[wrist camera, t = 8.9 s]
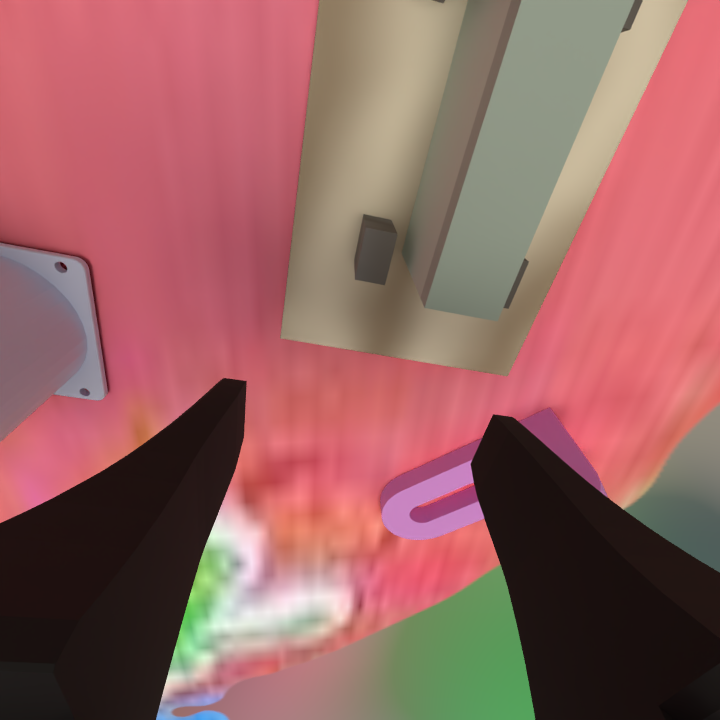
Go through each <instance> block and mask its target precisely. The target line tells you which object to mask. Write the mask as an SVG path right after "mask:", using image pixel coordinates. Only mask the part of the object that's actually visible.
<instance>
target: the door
mask: <svg viewBox="0 0 720 720" xmlns="http://www.w3.org/2000/svg"><path fill="white" fill-rule="evenodd" d="M634 1H635V0H468V2H467V6H466V10H465V13H464V17H463V21H462V25H461V29H460V32H459V36H458V40H457V44H456V48H455V51H454V55H453V59H452V63H451V67H450V71H449V74H448V78H447V82H446V86H445V90H444V93H443V97H442V101H441V105H440V109H439V112H438V116H437V120H436V124H435V128H434V131H433V135H432V139H431V143H430V147H429V151H428V154H427V158H426V162H425V166H424V170H423V173H422V177H421V181H420V185H419V189H418V192H417V196H416V200H415V204H414V208H413V211H412V215H411V219H410V223H409V227H408V230H407V234H406V238H405V242H404V246H403V250H402V255H403V258H404V260H405V263H406V265H407V267H408V270H409V272H410V274H411V277H412V279H413V282H414V284H415V286H416V289H417V291H418V294H419V296H420V298H421V301H422V303H423V306H424V308H428V309H433V310H438V311H444V312H449V313H455V314H460V315H465V316H471V317H476V318H481V319H487V320H492V321H498V319H499V317H500V314H501V312H502V310H503V307H504V305H505V303H506V300H507V298H508V295H509V293H510V291H511V288H512V286H513V284H514V281H515V279H516V277H517V274H518V272H519V270H520V267H521V265H522V263H523V260H524V258H525V256H526V253H527V251H528V249H529V246H530V244H531V242H532V239H533V237H534V235H535V232H536V230H537V228H538V225H539V223H540V221H541V218H542V216H543V214H544V211H545V209H546V207H547V204H548V202H549V200H550V197H551V195H552V193H553V190H554V188H555V185H556V183H557V181H558V178H559V176H560V174H561V171H562V169H563V167H564V164H565V162H566V160H567V157H568V155H569V153H570V150H571V148H572V146H573V143H574V141H575V139H576V136H577V134H578V132H579V129H580V127H581V125H582V122H583V120H584V118H585V115H586V113H587V111H588V108H589V106H590V104H591V101H592V99H593V97H594V94H595V92H596V90H597V87H598V85H599V83H600V80H601V78H602V75H603V73H604V71H605V68H606V66H607V64H608V61H609V59H610V57H611V54H612V52H613V50H614V47H615V45H616V43H617V40H618V38H619V36H620V33H621V31H622V29H623V26H624V24H625V22H626V19H627V17H628V15H629V12H630V10H631V8H632V5H633V3H634Z"/></svg>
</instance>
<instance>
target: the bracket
mask: <svg viewBox="0 0 720 720" xmlns="http://www.w3.org/2000/svg"><path fill="white" fill-rule="evenodd" d="M519 422H520V423H521V424H522V425H523V426H524V427H526V428H527V429H528V430H529V431H530V432H531V433H533V434H534V435H535V436H536V437H537V438H538V439H539V440H541V441H542V442H543V443H544V444H545V445H546V446H547V447H548V448H550V449H551V450H552V451H553V452H554V453H555V454H556V455H557V456H559V457H560V458H561V459H562V460H563V461H564V462H565V463H566V464H568V465H569V466H570V467H571V468H572V469H573V470H575V471H576V472H577V473H578V474H579V475H580V476H582V477H583V478H584V479H585V480H586V481H588V482H589V483H590V484H591V485H593V486H594V487H595V488H596V489H597V490H599V491H600V492H601V493H602V494H604V495H605V496H606V497H607V494H606V492H605V489H604V487H603V485H602V483H601V481H600V479H599V476H598V474H597V473H596V471H595V469H594V468H593V467H592V465H591V464H590V463H589V461H588V460H587V458H586V457H585V456H584V454H583V453H582V451H581V450H580V449H579V447H578V446H577V444H576V443H575V442H574V440H573V439H572V437H571V436H570V435H569V433H568V432H567V430H566V429H565V428H564V426H563V425H562V423H561V422H560V421H559V419H558V418H557V417H556V415H555V414H554V412H553V411H552V410H551V408H550V407H549V408H547V409H545V410H543V411H541V412H539V413H536V414H534V415H532V416H530V417H528V418H525V419H523V420H521V421H519ZM481 440H482V438H481V439H479V440H477V441H475V442H473V443H470V444H468V445H466V446H464V447H462V448H459V449H457V450H455V451H453V452H451V453H448V454H446V455H444V456H442V457H440V458H437V459H435V460H433V461H431V462H429V463H426V464H424V465H422V466H420V467H418V468H415V469H413V470H411V471H409V472H407V473H404V474H402V475H400V476H398V477H396V478H395V479H393V480H392V481H391V482H389V483H388V484H387V485H386V487H385V488H384V489H383V491H382V494H381V498H380V503H381V514H382V521H383V523H384V525H385V527H386V528H387V529H388V530H389V531H390V532H392V533H393V534H395V535H397V536H400V537H402V538H406V539H413V540H424V539H431V538H435V537H439V536H442V535H444V534H447V533H449V532H452V531H454V530H457V529H459V528H462V527H464V526H467V525H469V524H472V523H474V522H477V521H479V520H482V519H484V516H483V513H482V510H481V507H480V504H479V501H478V498H477V494H476V490H475V486H472V487H470V488H467V489H465V490H463V491H460V492H458V493H456V494H453V495H451V496H449V497H446V498H444V499H441V500H439V501H437V502H434V503H432V504H430V505H427V506H425V507H416V506H419V505H421V504H423V503H426V502H428V501H431V500H433V499H435V498H438V497H440V496H442V495H445V494H447V493H449V492H452V491H454V490H456V489H459V488H461V487H463V486H466V485H468V484H471V483H474V481H473V475H472V470H471V461H472V459H473V457H474V455H475V453H476V451H477V448H478V446H479V444H480V442H481ZM607 498H608V497H607Z"/></svg>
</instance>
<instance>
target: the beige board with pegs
mask: <svg viewBox="0 0 720 720" xmlns="http://www.w3.org/2000/svg"><path fill="white" fill-rule="evenodd" d="M687 1H688V0H635V1H634V3H633V5H632V8H631V10H630V12H629V15H628V17H627V19H626V22H625V24H624V26H623V29H622V31H621V33H620V36H619V38H618V40H617V43H616V45H615V47H614V50H613V52H612V54H611V57H610V59H609V61H608V64H607V66H606V68H605V71H604V73H603V75H602V78H601V80H600V83H599V85H598V87H597V90H596V92H595V94H594V97H593V99H592V101H591V104H590V106H589V108H588V111H587V113H586V115H585V118H584V120H583V122H582V125H581V127H580V129H579V132H578V134H577V136H576V139H575V141H574V143H573V146H572V148H571V150H570V153H569V155H568V157H567V160H566V162H565V164H564V167H563V169H562V171H561V174H560V176H559V178H558V181H557V183H556V185H555V188H554V190H553V193H552V195H551V197H550V200H549V202H548V204H547V207H546V209H545V211H544V214H543V216H542V218H541V221H540V223H539V225H538V228H537V230H536V232H535V235H534V237H533V239H532V242H531V244H530V246H529V249H528V251H527V253H526V256H525V258H524V260H523V263H522V265H521V267H520V270H519V272H518V274H517V277H516V279H515V281H514V284H513V286H512V288H511V291H510V293H509V295H508V298H507V300H506V303H505V305H504V307H503V310H502V312H501V314H500V317H499V319H498V321H492V320H487V319H481V318H476V317H471V316H465V315H460V314H455V313H449V312H444V311H438V310H433V309H428V308H424V306H423V303H422V301H421V298H420V296H419V294H418V291H417V289H416V286H415V284H414V282H413V279H412V277H411V274H410V272H409V270H408V267H407V265H406V263H405V260H404V258H403V255H402V250H403V246H404V242H405V238H406V234H407V230H408V227H409V223H410V219H411V215H412V211H413V208H414V204H415V200H416V196H417V192H418V189H419V185H420V181H421V177H422V173H423V170H424V166H425V162H426V158H427V154H428V151H429V147H430V143H431V139H432V135H433V131H434V128H435V124H436V120H437V116H438V112H439V109H440V105H441V101H442V97H443V93H444V90H445V86H446V82H447V78H448V74H449V71H450V67H451V63H452V59H453V55H454V51H455V48H456V44H457V40H458V36H459V32H460V29H461V25H462V21H463V17H464V13H465V10H466V6H467V2H468V0H319V8H318V16H317V25H316V34H315V42H314V51H313V60H312V68H311V77H310V86H309V94H308V103H307V112H306V120H305V129H304V138H303V146H302V155H301V163H300V172H299V181H298V189H297V198H296V207H295V215H294V224H293V233H292V241H291V250H290V259H289V267H288V276H287V285H286V293H285V302H284V310H283V319H282V328H281V336H280V338H282V339H288V340H294V341H300V342H306V343H312V344H318V345H324V346H330V347H336V348H342V349H348V350H354V351H360V352H366V353H372V354H378V355H384V356H389V357H395V358H401V359H407V360H413V361H419V362H425V363H431V364H437V365H443V366H449V367H455V368H461V369H467V370H473V371H479V372H485V373H491V374H497V375H503V376H508V374H509V372H510V370H511V368H512V366H513V364H514V362H515V360H516V358H517V355H518V353H519V351H520V349H521V347H522V345H523V343H524V341H525V339H526V337H527V335H528V333H529V330H530V328H531V326H532V324H533V322H534V320H535V318H536V316H537V314H538V312H539V310H540V308H541V305H542V303H543V301H544V299H545V297H546V295H547V293H548V291H549V289H550V287H551V285H552V283H553V280H554V278H555V276H556V274H557V272H558V270H559V268H560V266H561V264H562V262H563V260H564V258H565V255H566V253H567V251H568V249H569V247H570V245H571V243H572V241H573V239H574V237H575V235H576V233H577V230H578V228H579V226H580V224H581V222H582V220H583V218H584V216H585V214H586V212H587V210H588V208H589V205H590V203H591V201H592V199H593V197H594V195H595V193H596V191H597V189H598V187H599V185H600V183H601V180H602V178H603V176H604V174H605V172H606V170H607V168H608V166H609V164H610V162H611V160H612V158H613V155H614V153H615V151H616V149H617V147H618V145H619V143H620V141H621V139H622V137H623V135H624V133H625V130H626V128H627V126H628V124H629V122H630V120H631V118H632V116H633V114H634V112H635V110H636V108H637V105H638V103H639V101H640V99H641V97H642V95H643V93H644V91H645V89H646V87H647V85H648V83H649V80H650V78H651V76H652V74H653V72H654V70H655V68H656V66H657V64H658V62H659V60H660V58H661V55H662V53H663V51H664V49H665V47H666V45H667V43H668V41H669V39H670V37H671V35H672V33H673V30H674V28H675V26H676V24H677V22H678V20H679V18H680V16H681V14H682V12H683V10H684V8H685V5H686V3H687Z"/></svg>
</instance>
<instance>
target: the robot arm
mask: <svg viewBox="0 0 720 720" xmlns="http://www.w3.org/2000/svg"><path fill="white" fill-rule="evenodd" d="M60 262H62V263H64V264H65V265H66V267H67V270H65V269H64V268H62V267H61V264H60ZM246 382H247V381H241V380H234V379H226V378H223V379H222V380H220V381H219V382H218V383H217V384H216V385H215V386H214V387H213V388H212V389H210V390H209V391H208V392H207V393H206V394H205V395H204V396H203V397H202V398H201V399H199V400H198V401H197V402H196V403H195V404H194V405H193V406H191V407H190V408H189V409H188V410H187V411H185V412H184V413H183V414H182V415H181V416H179V417H178V418H177V419H176V420H175V421H173V422H172V423H171V424H170V425H168V426H167V427H166V428H164V429H163V430H162V431H160V432H159V433H158V434H156V435H155V436H154V437H152V438H151V439H150V440H148V441H147V442H146V443H144V444H143V445H141V446H140V447H139V448H137V449H136V450H134V451H133V452H131V453H130V454H128V455H127V456H125V457H124V458H122V459H121V460H119V461H118V462H116V463H114V464H113V465H111V466H110V467H108V468H106V469H105V470H103V471H101V472H100V473H98V474H96V475H95V476H93V477H91V478H89V479H87V480H86V481H84V482H82V483H80V484H78V485H76V486H75V487H73V488H71V489H69V490H67V491H65V492H63V493H62V494H60V495H58V496H56V497H54V498H52V499H50V500H48V501H46V502H44V503H42V504H40V505H38V506H36V507H34V508H32V509H30V510H28V511H26V512H24V513H22V514H20V515H17V516H15V517H13V518H11V519H9V520H6V521H4V522H2V523H0V720H156V717H157V713H158V709H159V705H160V701H161V698H162V694H163V690H164V686H165V683H166V679H167V675H168V672H169V668H170V664H171V660H172V657H173V653H174V649H175V646H176V642H177V639H178V635H179V631H180V628H181V624H182V621H183V617H184V614H185V610H186V607H187V603H188V600H189V596H190V593H191V589H192V586H193V582H194V579H195V576H196V572H197V569H198V565H199V562H200V559H201V556H202V553H203V551H204V548H205V545H206V542H207V540H208V537H209V535H210V532H211V530H212V527H213V525H214V522H215V520H216V517H217V515H218V512H219V510H220V507H221V505H222V502H223V500H224V497H225V495H226V492H227V489H228V487H229V484H230V482H231V479H232V477H233V474H234V471H235V469H236V465H237V461H238V458H239V454H240V450H241V446H242V442H243V438H244V423H245V402H246ZM84 388H85V389H87V390H88V391H89V392H88V391H86V390H85V389H84ZM107 393H108V390H107V383H106V376H105V370H104V363H103V357H102V350H101V344H100V337H99V331H98V324H97V317H96V311H95V304H94V298H93V291H92V285H91V278H90V272H89V267H88V265H87V264H86V262H85V261H84V260H82V259H81V258H79V257H76V256H70V255H65V254H59V253H54V252H48V251H43V250H37V249H32V248H26V247H21V246H15V245H10V244H4V243H0V442H1V441H2V440H3V439H4V438H6V437H7V436H8V435H9V434H10V433H11V432H12V431H13V430H14V429H15V428H17V427H18V426H19V425H20V424H21V423H22V422H23V421H24V420H25V419H26V418H28V417H29V416H30V415H31V414H32V413H33V412H34V411H35V410H36V409H37V408H39V407H40V406H41V405H42V404H43V403H44V402H45V401H46V400H47V399H48V398H50V397H51V396H52V395H53V394H54V395H61V396H68V397H75V398H83V399H90V400H102V399H103V398H104V397H105V396H106V395H107ZM471 470H472V475H473V481H474V485H475V490H476V494H477V498H478V501H479V504H480V507H481V510H482V513H483V516H484V519H485V521H486V524H487V527H488V530H489V533H490V536H491V538H492V541H493V544H494V547H495V550H496V553H497V555H498V558H499V561H500V564H501V567H502V570H503V573H504V576H505V579H506V582H507V586H508V589H509V594H510V598H511V602H512V606H513V610H514V614H515V619H516V623H517V627H518V631H519V636H520V641H521V645H522V650H523V655H524V660H525V664H526V670H527V675H528V680H529V686H530V691H531V696H532V702H533V708H534V713H535V720H720V573H719V572H718V571H716V570H714V569H713V568H711V567H709V566H708V565H706V564H704V563H702V562H701V561H699V560H698V559H696V558H694V557H692V556H691V555H689V554H688V553H686V552H685V551H683V550H682V549H680V548H679V547H677V546H675V545H674V544H672V543H671V542H669V541H668V540H666V539H665V538H663V537H662V536H660V535H659V534H657V533H656V532H654V531H653V530H651V529H650V528H648V527H647V526H645V525H644V524H643V523H641V522H640V521H638V520H637V519H636V518H634V517H633V516H631V515H630V514H629V513H627V512H626V511H624V510H623V509H622V508H620V507H619V506H618V505H616V504H615V503H614V502H613V501H611V500H610V499H609V498H607V497H606V496H605V495H604V494H602V493H601V492H600V491H599V490H597V489H596V488H595V487H594V486H593V485H591V484H590V483H589V482H588V481H586V480H585V479H584V478H583V477H582V476H580V475H579V474H578V473H577V472H576V471H575V470H573V469H572V468H571V467H570V466H569V465H568V464H566V463H565V462H564V461H563V460H562V459H561V458H560V457H559V456H557V455H556V454H555V453H554V452H553V451H552V450H551V449H550V448H548V447H547V446H546V445H545V444H544V443H543V442H542V441H541V440H539V439H538V438H537V437H536V436H535V435H534V434H533V433H531V432H530V431H529V430H528V429H527V428H526V427H524V426H523V425H522V424H521V423H520V422H518V421H517V420H516V419H514V418H513V417H508V416H501V415H493V416H492V418H491V420H490V423H489V425H488V427H487V429H486V431H485V433H484V435H483V438H482V440H481V442H480V444H479V446H478V448H477V451H476V453H475V455H474V457H473V459H472V461H471Z"/></svg>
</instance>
